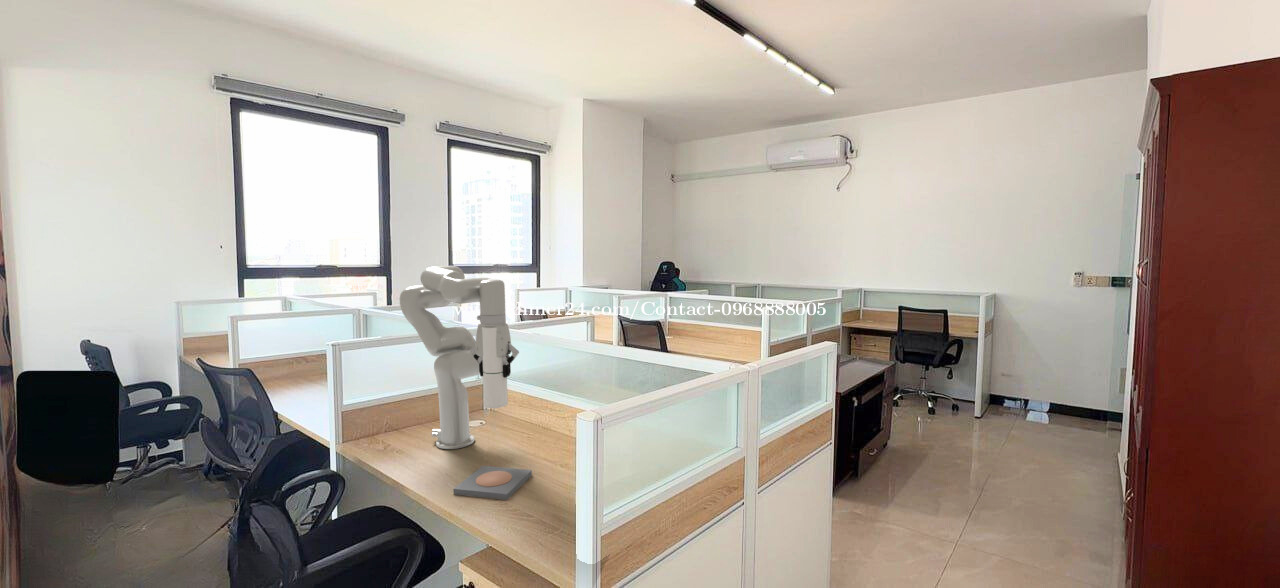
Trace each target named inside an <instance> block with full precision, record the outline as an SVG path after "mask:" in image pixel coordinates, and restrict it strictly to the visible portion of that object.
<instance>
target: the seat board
mask: <svg viewBox="0 0 1280 588" xmlns="http://www.w3.org/2000/svg"><path fill="white" fill-rule="evenodd" d="M532 471H533V470H532V469H526V468H514V467H513V468H512V467H502V466H491V465H481V466H480V467H479V468H477V470H475V471H474V472H473V473H471V474H470V475H469V476H468V477H466V478H465V479H464V480H463V481H461V482H460V483H458V485H456V486H454V487H453V489H452V490H453V495H456V496H467V497H473V498H474V497H475V498H484V499H495V500H503V501H508V500H509V498H510V497H512V495H514V494H515V492H516V491H518V490H519V489H520V488H519V487H522V486H523V485H524V484H525V483H526V482H527V481H528V480H529V479H530V478H531V477H532V476H533V472H532Z"/></svg>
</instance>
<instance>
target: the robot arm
mask: <svg viewBox="0 0 1280 588" xmlns="http://www.w3.org/2000/svg"><path fill="white" fill-rule="evenodd" d="M419 279H420V283H421V285H418V284H417V285H412V286H409V287H406V288H404V289H403V290H402V291H401V293H400V295H399V305H400V306H399V307H400V310H401V312H402V314H403V316H404V318H405V319H406V320H407V321H408V323H409V324H410V325H411V326H412V327H413V329H415V331H416V332H417V335H418V336H419V338H420V340H421V341H422V343H423V345H424V347H425V349H426V350H427V352H429V354H430V355H431V356H433V357H437V358H436V359H435V360H434V364H433V370H434V376H435V378H436V384H437V391H438V392H437V393H438V394H437V395H438V407H439V408H438V410H439V429H438V428H433V429H432V430H431V434H430V435H431V437H434V438H436V437H437V440H436V442H435V445H436V447H437V448H439V449H441V450H442V449H443V450H459V449H462V448H466V447H468V446H471V445H472V444H473V443H474V442H475V439H476V438H475V436H474V435H472V434H471V433H470V432H471V431H470V413H469V411H470V410H469V392H468V389H467V387H466V386H465V384H464V383H463V382H462V381H461V380H462V379H467V378H471V377H474V376H478V375H479V376H480V377H483V335H482V327H497V330H496V354H497V357H502V360H503V362H504V365H503V377H504V378H506V377H507V378H509V376H510V375H511V368H512V367H511V364H512V363H513V361H514V360H515V359H516V357H518V355H519V354H520V351H519V350H518V349H517V348H516V347H515V346H513V344H512V339H511V333H510V328H509V324H508V323H507V322H506V321H507V319H506V317H507V316H506V294H505V293H506V288H505V287H506V285H505V282H504V281H503V280H501V279H493V278H488V277H476V278H475V277H474V278H465V273H464V271H463V269H461V268H460V266H456V265H442V266H441V265H437V266H436V265H434V266H430V267H426V268H425V269H424V270H423V271H422V272H421V274H420V278H419ZM451 303H454V304H462V305H463V304H469V303H470V304H471V303H479V312H480V313H479V315H477V316H476V320H477V321H479V322H480V323H478V325H477V328H476V329H477V330H476V337H475V338H474V336H473V334H472V333H471V331H470V330H469V329H468V328H467V327H464V326H453V327H445V326H444V325H443V323H442V322H441V320H440V319H439V317H438V316H436V314H433V313H432V312H431V311H429V310H426V309H433V308H443V307H446V306H448V305H449V304H451ZM499 331H500V332H499ZM510 354H511V355H510Z"/></svg>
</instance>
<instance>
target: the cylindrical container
mask: <svg viewBox="0 0 1280 588" xmlns="http://www.w3.org/2000/svg"><path fill="white" fill-rule="evenodd" d="M496 330H497V327H482V335H483V376H482V378H483V380H482V382H483V406H484V408H487V409H488V408H489V409H498V408H503V407H507V406H508V404H509V403H508V401H509V400H508V399H509V398H508V377H506V378H504V377H503V365H504V362H503V360H502V357H497V354H496ZM499 332H500V331H499Z"/></svg>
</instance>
